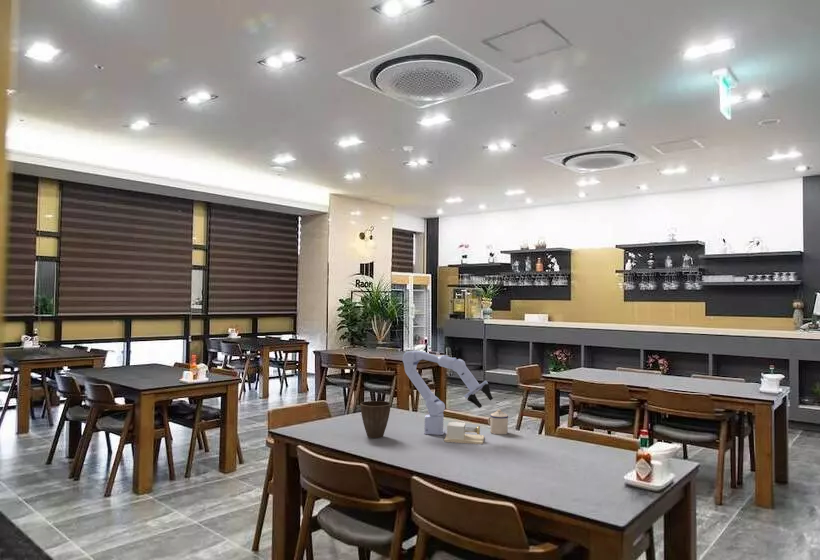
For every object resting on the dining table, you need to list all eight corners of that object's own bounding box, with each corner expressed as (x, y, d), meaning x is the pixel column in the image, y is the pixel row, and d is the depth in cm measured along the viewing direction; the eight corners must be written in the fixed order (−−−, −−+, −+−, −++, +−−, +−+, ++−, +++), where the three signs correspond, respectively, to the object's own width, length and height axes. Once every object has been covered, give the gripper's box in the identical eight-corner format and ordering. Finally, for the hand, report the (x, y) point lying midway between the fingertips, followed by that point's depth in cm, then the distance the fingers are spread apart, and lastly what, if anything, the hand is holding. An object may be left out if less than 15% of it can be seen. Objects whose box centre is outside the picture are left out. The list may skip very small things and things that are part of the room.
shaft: (453, 433, 273) (453, 425, 274) (454, 432, 277) (454, 424, 277) (479, 435, 271) (479, 427, 271) (479, 433, 275) (479, 425, 275)
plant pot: (354, 438, 273) (354, 404, 273) (367, 431, 286) (368, 399, 287) (382, 441, 267) (383, 407, 268) (395, 435, 281) (395, 402, 281)
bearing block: (444, 441, 269) (444, 426, 269) (447, 435, 283) (447, 420, 283) (482, 444, 266) (482, 428, 266) (483, 437, 280) (484, 422, 280)
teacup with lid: (511, 433, 289) (512, 410, 290) (499, 435, 284) (499, 412, 284) (494, 429, 299) (494, 406, 299) (482, 431, 293) (482, 408, 294)
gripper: (462, 384, 274) (479, 408, 271) (483, 370, 282) (500, 393, 278) (456, 389, 280) (473, 412, 277) (477, 375, 288) (493, 398, 284)
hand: (486, 403), depth 278 cm, fingers open, 7 cm apart
